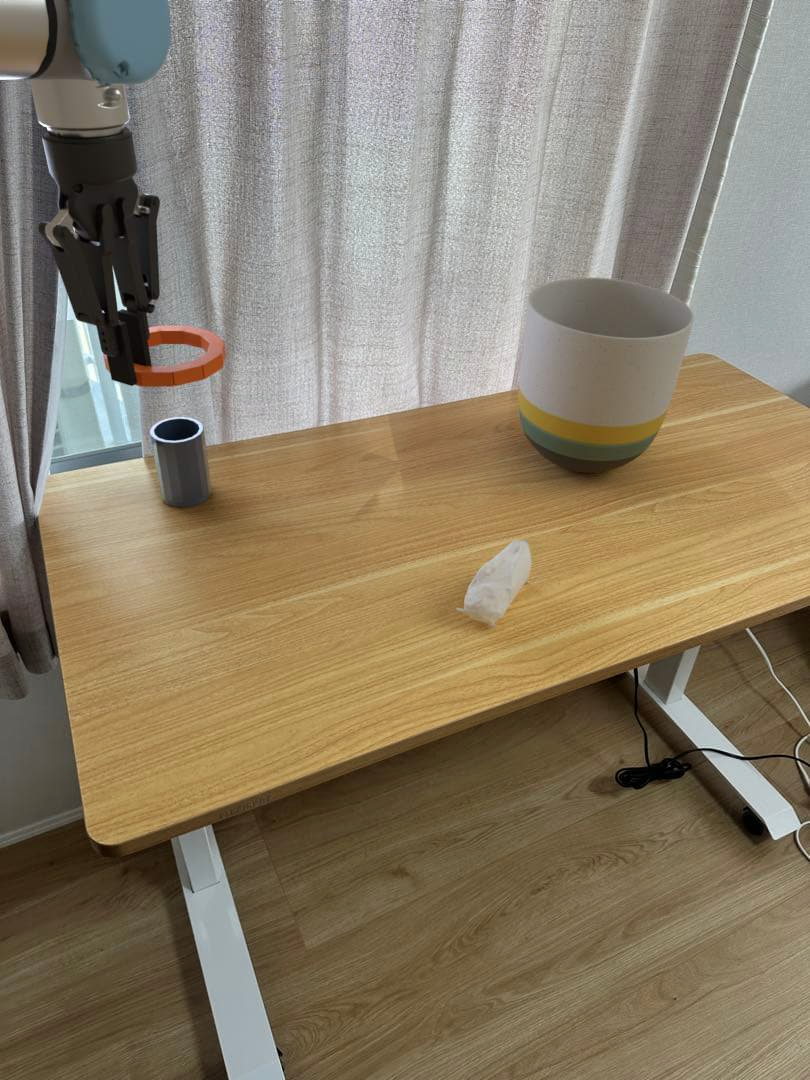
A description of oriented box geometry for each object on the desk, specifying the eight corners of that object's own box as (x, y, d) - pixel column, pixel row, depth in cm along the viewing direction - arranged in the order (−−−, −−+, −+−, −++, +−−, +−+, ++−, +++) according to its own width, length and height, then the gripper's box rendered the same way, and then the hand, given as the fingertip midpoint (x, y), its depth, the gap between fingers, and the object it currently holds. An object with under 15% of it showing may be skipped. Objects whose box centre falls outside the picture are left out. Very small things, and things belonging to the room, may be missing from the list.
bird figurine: (481, 578, 90) (449, 614, 82) (504, 527, 87) (473, 559, 78) (521, 599, 89) (493, 637, 80) (545, 548, 86) (518, 582, 77)
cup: (150, 498, 98) (138, 433, 92) (183, 475, 102) (173, 412, 97) (190, 513, 96) (180, 447, 90) (221, 488, 100) (213, 425, 95)
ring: (82, 370, 85) (79, 356, 84) (158, 330, 94) (156, 317, 94) (177, 396, 81) (175, 382, 80) (247, 352, 90) (245, 339, 90)
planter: (676, 495, 103) (722, 337, 90) (527, 502, 100) (553, 340, 87) (624, 421, 118) (657, 276, 105) (494, 425, 116) (511, 277, 103)
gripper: (53, 148, 63) (109, 415, 77) (177, 119, 74) (206, 359, 88) (-16, 136, 66) (51, 396, 80) (114, 109, 76) (152, 344, 90)
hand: (132, 376), depth 84 cm, fingers closed on ring, 2 cm apart
